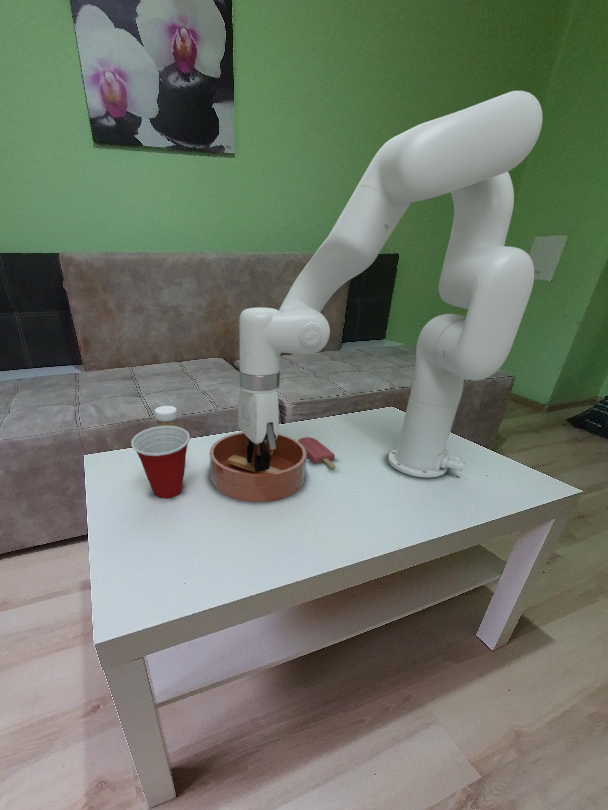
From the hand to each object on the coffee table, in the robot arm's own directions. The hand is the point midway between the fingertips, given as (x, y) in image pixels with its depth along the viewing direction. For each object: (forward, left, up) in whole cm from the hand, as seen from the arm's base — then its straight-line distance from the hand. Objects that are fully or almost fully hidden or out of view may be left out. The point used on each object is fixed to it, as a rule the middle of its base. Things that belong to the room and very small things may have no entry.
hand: (257, 464), depth 82 cm
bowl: (0, 0, -3) cm, 3 cm away
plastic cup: (+11, +16, -3) cm, 20 cm away
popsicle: (-6, -16, -3) cm, 17 cm away
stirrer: (0, 0, -1) cm, 1 cm away
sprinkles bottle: (+18, +8, -3) cm, 20 cm away
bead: (+3, -7, -1) cm, 8 cm away
